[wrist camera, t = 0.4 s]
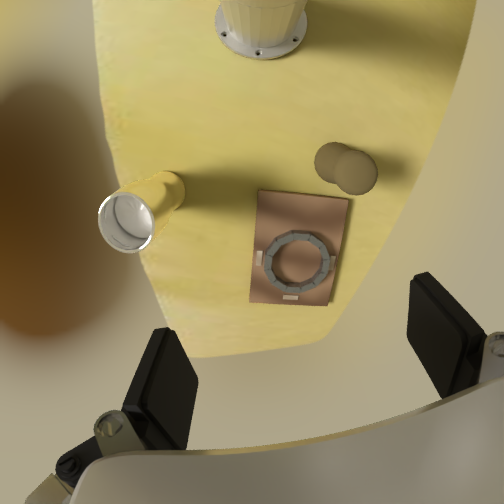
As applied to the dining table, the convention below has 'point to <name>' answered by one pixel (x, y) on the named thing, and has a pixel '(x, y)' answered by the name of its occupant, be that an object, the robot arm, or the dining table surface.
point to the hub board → (296, 244)
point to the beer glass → (140, 211)
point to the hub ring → (306, 284)
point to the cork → (346, 168)
